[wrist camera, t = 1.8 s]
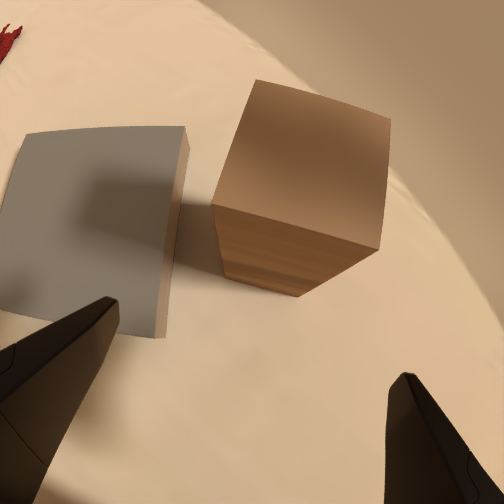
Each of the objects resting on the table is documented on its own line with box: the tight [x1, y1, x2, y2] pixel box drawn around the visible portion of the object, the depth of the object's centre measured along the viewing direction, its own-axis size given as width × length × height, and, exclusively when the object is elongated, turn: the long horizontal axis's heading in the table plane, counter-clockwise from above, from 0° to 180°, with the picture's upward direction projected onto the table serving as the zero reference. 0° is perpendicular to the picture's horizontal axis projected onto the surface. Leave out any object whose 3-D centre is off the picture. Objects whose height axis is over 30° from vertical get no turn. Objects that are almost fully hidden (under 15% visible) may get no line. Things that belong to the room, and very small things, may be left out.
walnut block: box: [211, 80, 391, 297], centre depth 16 cm, size 5×5×13 cm
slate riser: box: [0, 126, 190, 339], centre depth 21 cm, size 14×14×3 cm
